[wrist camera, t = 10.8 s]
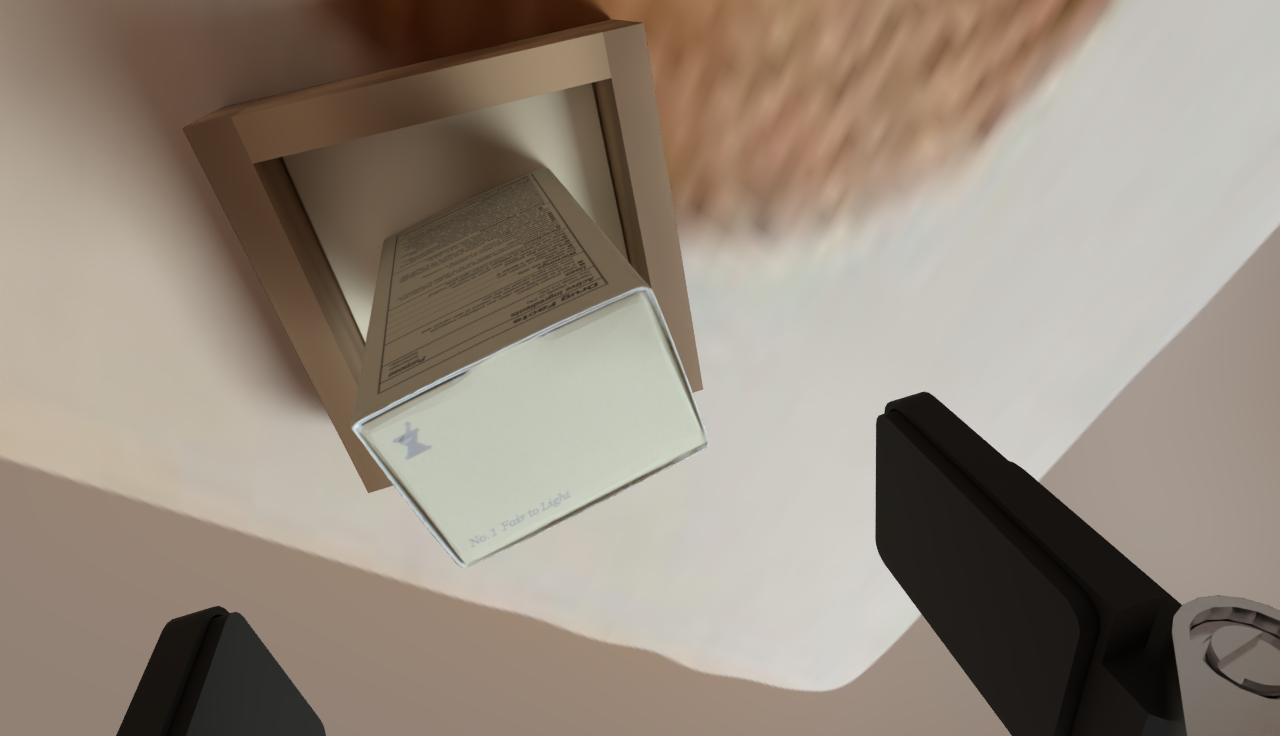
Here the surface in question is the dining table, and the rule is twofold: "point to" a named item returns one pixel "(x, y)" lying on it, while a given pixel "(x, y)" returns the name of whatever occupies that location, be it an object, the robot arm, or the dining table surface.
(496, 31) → the dining table surface
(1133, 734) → the robot arm
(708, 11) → the dining table surface
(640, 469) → the skincare box
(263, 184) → the brown wooden square tray
